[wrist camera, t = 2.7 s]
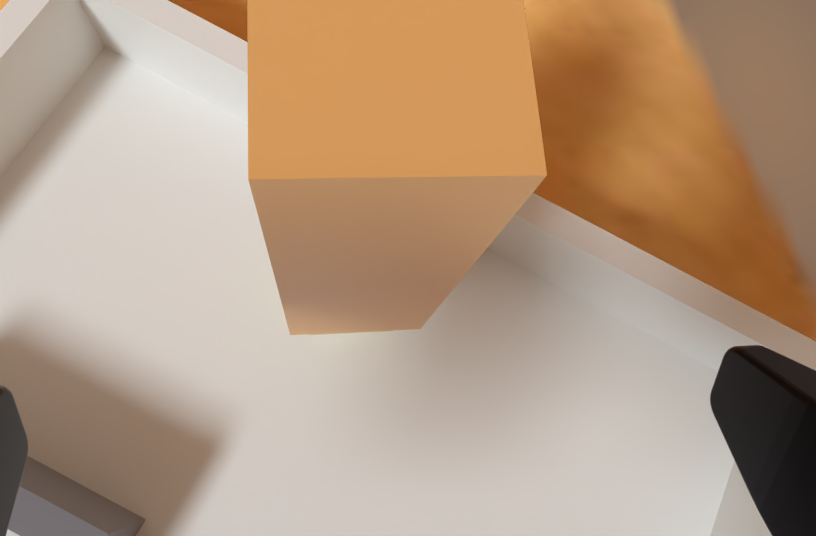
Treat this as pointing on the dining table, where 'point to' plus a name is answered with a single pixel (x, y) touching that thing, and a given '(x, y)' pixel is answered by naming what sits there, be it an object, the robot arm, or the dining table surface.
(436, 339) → the walled tray
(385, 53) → the tan square peg
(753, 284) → the dining table surface
